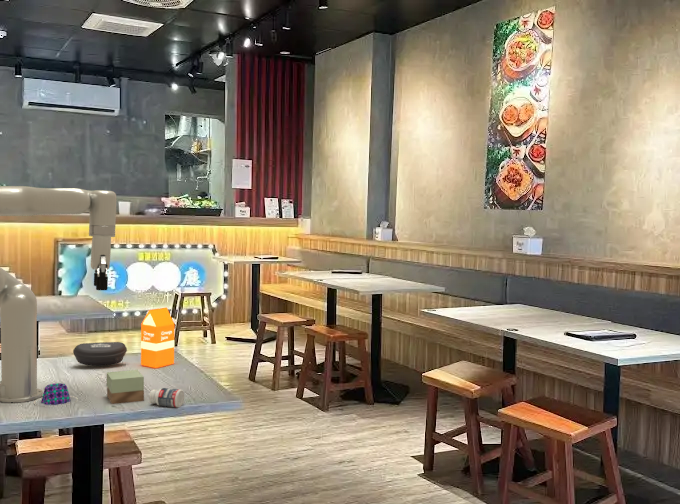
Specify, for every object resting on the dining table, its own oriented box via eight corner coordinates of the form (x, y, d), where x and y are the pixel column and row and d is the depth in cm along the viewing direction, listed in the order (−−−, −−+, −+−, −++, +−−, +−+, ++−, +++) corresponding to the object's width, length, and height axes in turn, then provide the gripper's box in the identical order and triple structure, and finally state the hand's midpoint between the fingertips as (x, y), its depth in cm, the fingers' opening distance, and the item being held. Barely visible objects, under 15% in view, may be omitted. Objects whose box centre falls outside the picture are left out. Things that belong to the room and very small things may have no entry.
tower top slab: (111, 393, 204) (111, 379, 204) (106, 385, 212) (106, 372, 212) (143, 390, 208) (143, 376, 208) (137, 382, 216) (137, 369, 216)
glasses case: (73, 369, 245) (73, 346, 244) (73, 362, 255) (73, 340, 254) (127, 366, 251) (128, 344, 251) (125, 359, 261) (125, 338, 260)
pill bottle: (175, 397, 201) (146, 395, 202) (178, 412, 203) (150, 409, 205) (182, 385, 205) (154, 383, 207) (186, 400, 208) (157, 397, 209)
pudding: (71, 395, 215) (71, 378, 214) (83, 405, 205) (83, 387, 205) (28, 401, 208) (28, 383, 207) (39, 411, 198) (39, 393, 198)
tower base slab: (111, 407, 204) (111, 393, 204) (107, 398, 212) (107, 385, 212) (143, 403, 208) (143, 390, 208) (138, 395, 216) (138, 382, 216)
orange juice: (174, 363, 257) (175, 308, 255) (156, 368, 249) (156, 311, 248) (158, 360, 261) (159, 306, 260) (140, 364, 254) (140, 308, 252)
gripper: (87, 229, 222) (85, 284, 223) (90, 232, 206) (89, 291, 207) (112, 230, 224) (110, 284, 226) (118, 233, 209) (116, 291, 210)
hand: (100, 287), depth 216 cm, fingers open, 9 cm apart
